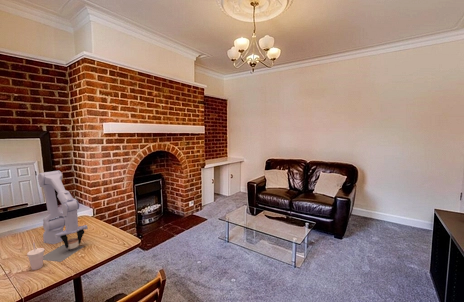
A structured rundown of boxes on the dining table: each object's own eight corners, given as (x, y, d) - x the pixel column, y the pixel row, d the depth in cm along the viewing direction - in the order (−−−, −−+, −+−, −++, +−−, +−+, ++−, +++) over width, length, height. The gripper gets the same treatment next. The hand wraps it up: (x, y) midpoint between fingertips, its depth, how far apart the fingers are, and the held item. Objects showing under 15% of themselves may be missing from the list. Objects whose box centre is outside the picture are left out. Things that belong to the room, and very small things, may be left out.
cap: (65, 248, 120) (64, 242, 120) (73, 243, 125) (72, 237, 125) (73, 249, 119) (72, 243, 119) (81, 244, 124) (80, 238, 124)
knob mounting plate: (37, 262, 113) (36, 251, 112) (63, 246, 127) (62, 237, 127) (61, 264, 111) (60, 253, 110) (84, 248, 125) (84, 238, 125)
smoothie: (35, 266, 109) (33, 239, 108) (49, 265, 110) (47, 239, 108) (24, 274, 103) (22, 246, 101) (39, 274, 103) (36, 246, 102)
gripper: (57, 228, 113) (59, 253, 114) (88, 219, 124) (90, 242, 125) (53, 225, 117) (55, 248, 118) (84, 216, 128) (85, 238, 130)
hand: (73, 245), depth 122 cm, fingers closed on cap, 5 cm apart
